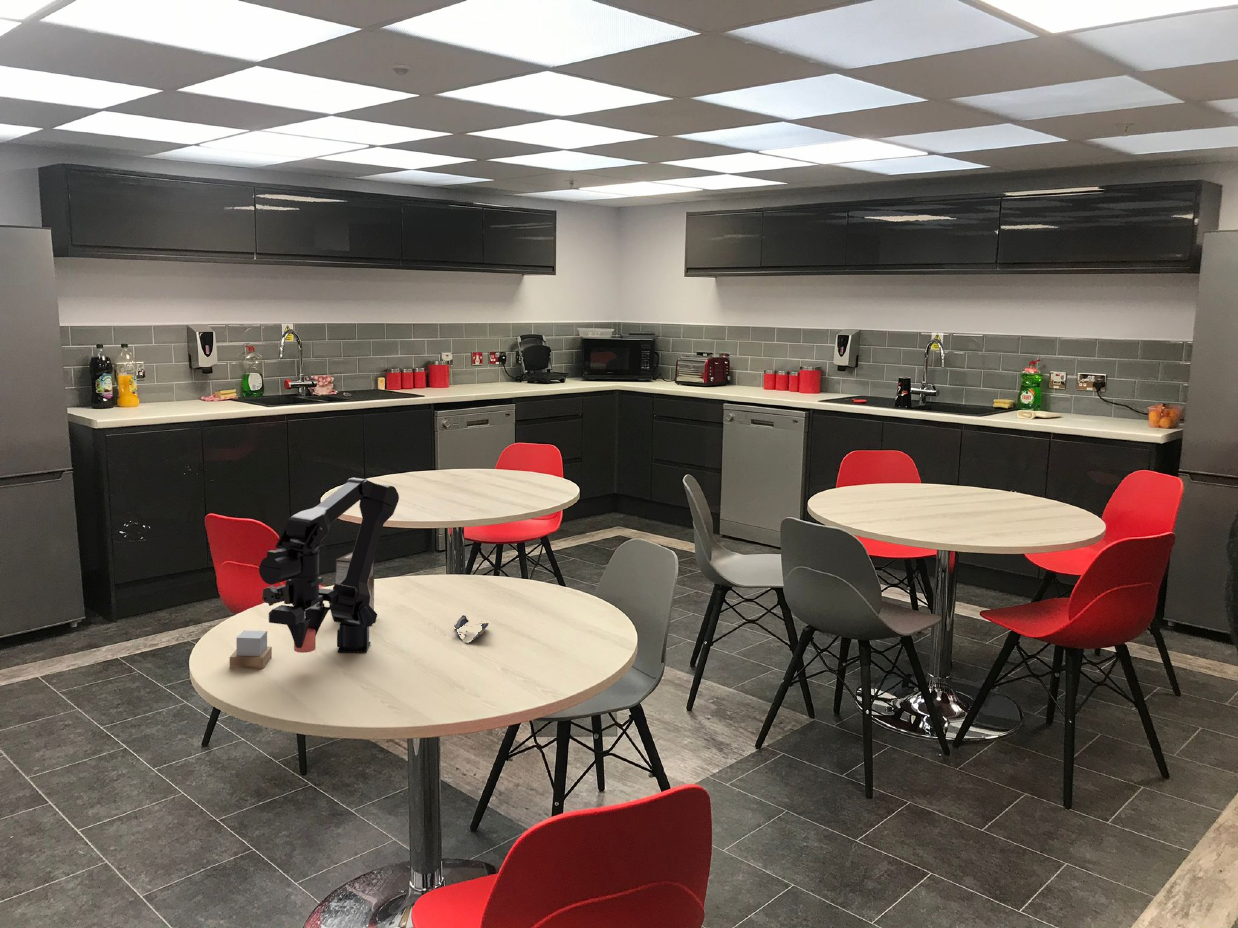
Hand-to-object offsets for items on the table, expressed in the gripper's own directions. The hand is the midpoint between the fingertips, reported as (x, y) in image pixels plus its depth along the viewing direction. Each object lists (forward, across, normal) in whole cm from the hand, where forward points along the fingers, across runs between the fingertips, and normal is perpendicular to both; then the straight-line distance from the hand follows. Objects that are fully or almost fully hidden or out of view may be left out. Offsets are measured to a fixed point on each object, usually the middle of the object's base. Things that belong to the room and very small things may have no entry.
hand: (304, 644), depth 201 cm
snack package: (+6, -34, +25) cm, 43 cm away
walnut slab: (+6, 0, -13) cm, 14 cm away
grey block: (+3, 0, -13) cm, 13 cm away
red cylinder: (+1, 0, 0) cm, 1 cm away
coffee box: (+6, -38, -8) cm, 39 cm away
